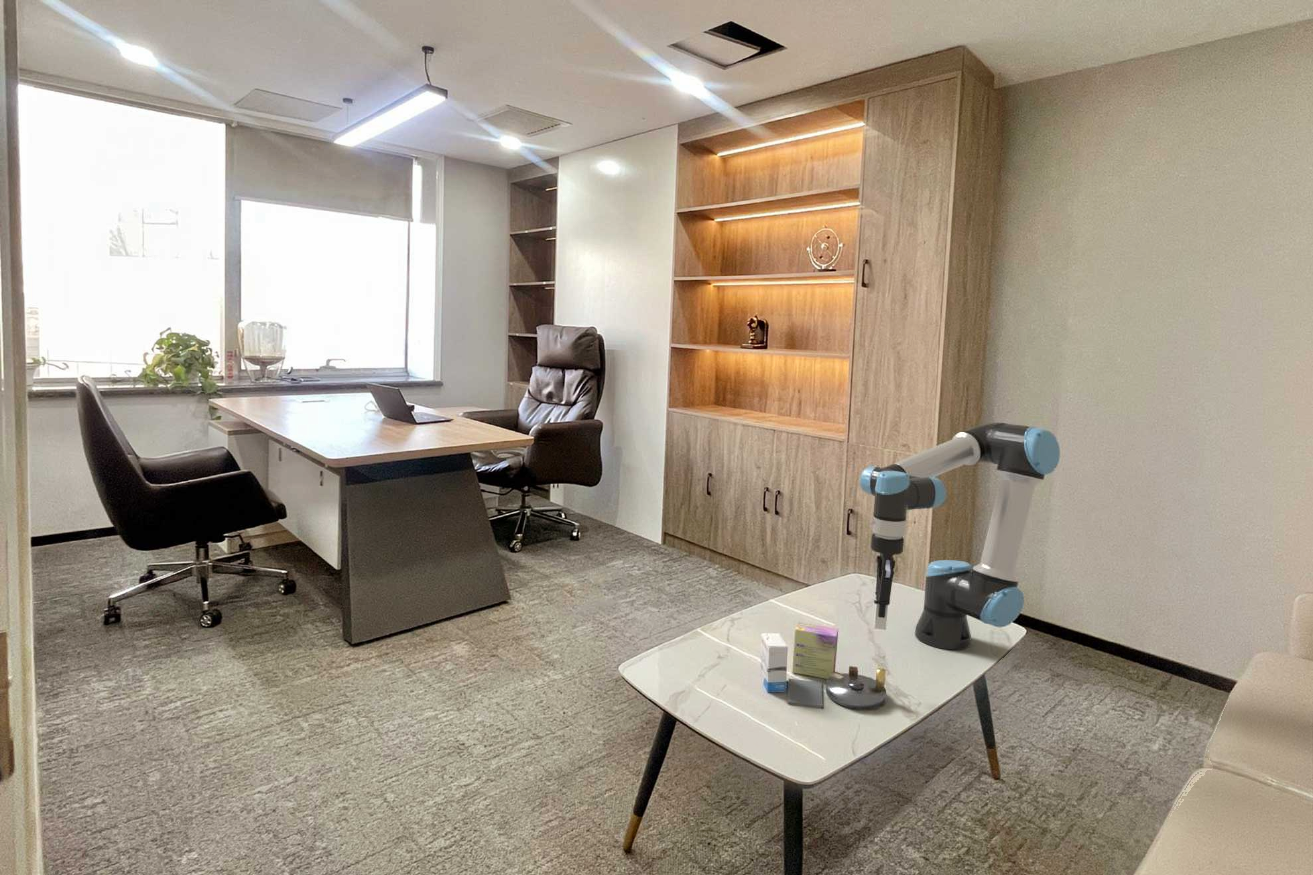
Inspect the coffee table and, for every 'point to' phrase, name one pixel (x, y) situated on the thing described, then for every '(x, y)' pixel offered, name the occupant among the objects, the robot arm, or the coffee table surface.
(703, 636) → the coffee table surface
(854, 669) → the brown short block
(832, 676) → the dark pot lid
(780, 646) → the ink box
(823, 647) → the box
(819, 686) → the mat
